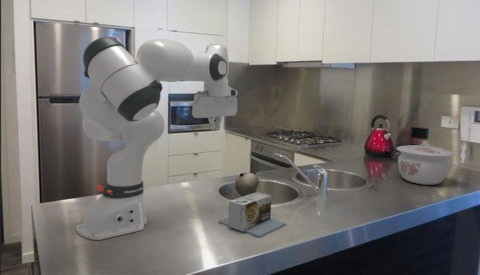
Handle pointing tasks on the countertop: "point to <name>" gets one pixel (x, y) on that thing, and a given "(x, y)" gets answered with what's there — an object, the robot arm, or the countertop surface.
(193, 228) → the countertop surface
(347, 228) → the countertop surface
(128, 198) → the robot arm
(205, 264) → the countertop surface
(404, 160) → the chamber pot
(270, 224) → the mat
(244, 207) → the coffee box
